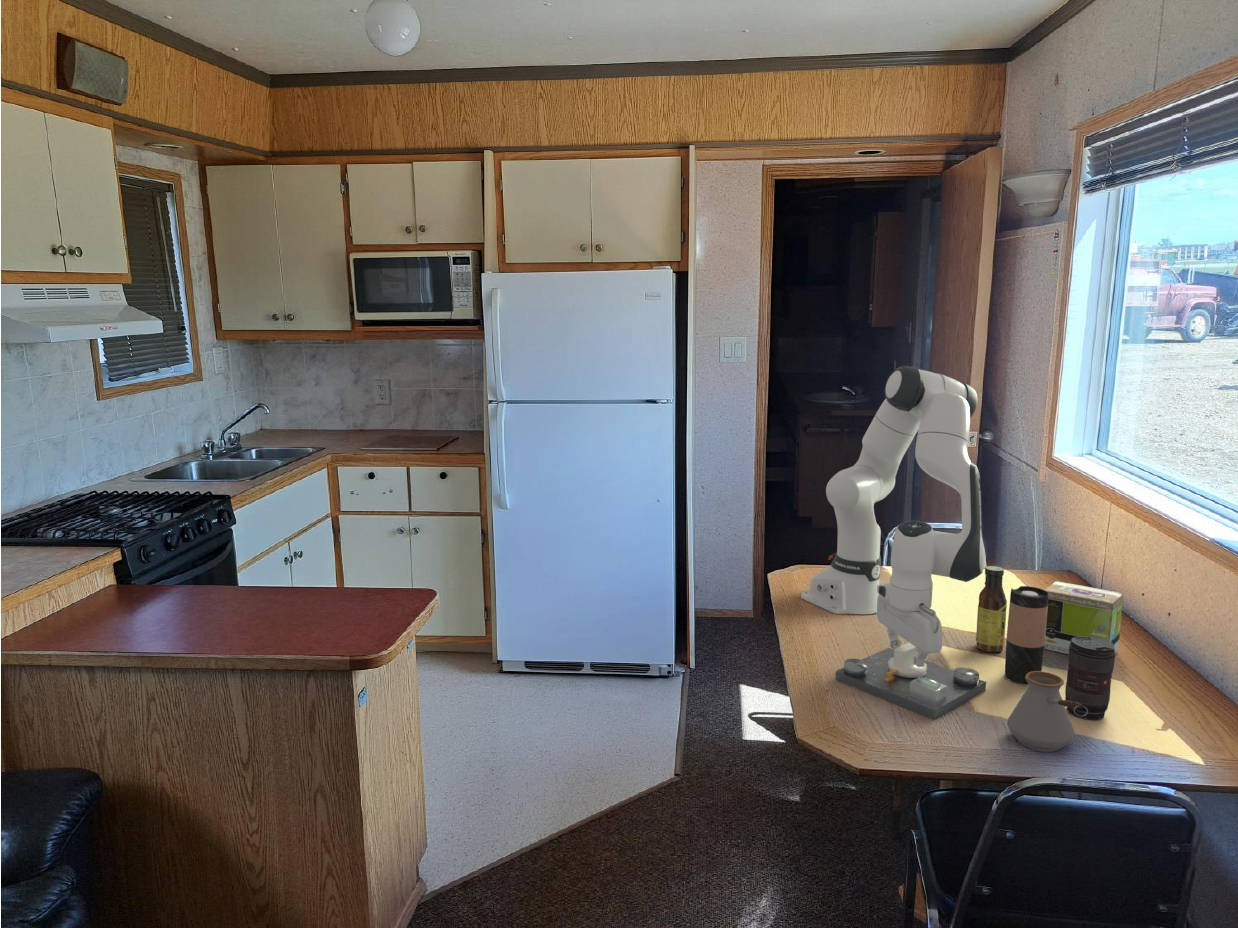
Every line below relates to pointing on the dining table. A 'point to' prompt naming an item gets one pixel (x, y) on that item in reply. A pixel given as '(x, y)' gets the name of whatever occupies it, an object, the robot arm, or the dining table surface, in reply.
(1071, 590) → the tea box
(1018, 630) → the travel mug
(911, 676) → the knob
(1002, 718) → the dining table surface
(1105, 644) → the camera lens
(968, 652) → the dining table surface
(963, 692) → the levelling base
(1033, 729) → the coffee pot
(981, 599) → the sauce bottle
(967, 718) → the dining table surface
